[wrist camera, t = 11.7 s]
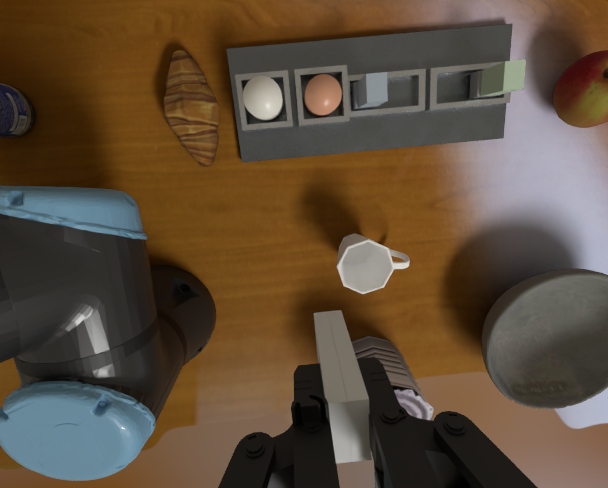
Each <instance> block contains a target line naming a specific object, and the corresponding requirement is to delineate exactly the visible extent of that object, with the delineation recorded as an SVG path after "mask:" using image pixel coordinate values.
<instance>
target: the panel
mask: <svg viewBox="0 0 608 488" xmlns="http://www.w3.org/2000/svg"><path fill="white" fill-rule="evenodd" d="M511 36H512V24H503V25H492V26H480V27H469V28H458V29H446V30H435V31H424V32H412V33H401V34H390V35H378V36H367V37H356V38H344V39H333V40H321V41H310V42H299V43H287V44H276V45H265V46H253V47H242V48H231V49H227V57H228V64H229V71H230V78H231V86H232V93H233V100H234V108H235V115H236V122H237V129H238V137H239V144H240V151H241V158H242V162H251V161H262V160H273V159H284V158H294V157H305V156H316V155H327V154H338V153H348V152H359V151H370V150H381V149H392V148H402V147H413V146H424V145H435V144H446V143H457V142H467V141H478V140H489V139H500V138H503V137H504V124H505V112H506V103H509V102H510V94H511V92H508V93H504V94H502V95H498V96H494V97H484V98H473V99H469V96H470V75H471V74H472V73H475V72H477V71H482V70H485V69H487V68H490V67H492V66H495V65H497V64H500V63H502V62H505V61H510V48H511ZM381 72H387V94H388V101H387V102H384V103H382V104H381V106H378V107H374V108H363V109H353V104H352V84H353V83H354V82H358V81H359V80H360V79H361V78H362V77H363V76H364V75H365V74H370V73H381ZM321 74H327V75H330V76H332V77H334V78H335V79H336V80H337V81H338V83H339V85H340V87H341V91H342V97H341V101H340V103H339V105H338V107H337V108H336V109H335V110H334V111H332V112H331V113H330V114H329V115H327V116H325V117H314V116H312V115H311V114H309V113H308V111H307V110H306V108H305V106H304V94H305V90H306V87H307V85H308V83H309V81H310V80H311V79H312V78H314V77H315V76H317V75H321ZM257 76H266V77H269V78H271V79H273V80H274V81H275V82H276V83H277V84H278V86H279V87H280V90H281V93H282V99H283V107H282V110H281V112H280V114H279V115H278V116H277V117H276V118H275V119H273V120H270V121H262V120H259V119H257V118H256V117H255V116H253V115H252V114H251V113H250V112H249V111H248V110H247V108H246V107H245V104H244V101H243V91H244V88H245V86H246V84H247V83H248V82H249V81H250V80H251V79H252V78H254V77H257Z"/></svg>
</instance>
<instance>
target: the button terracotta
mask: <svg viewBox="0 0 608 488" xmlns="http://www.w3.org/2000/svg"><path fill="white" fill-rule="evenodd" d="M341 97H342V91H341V87H340V85H339V83H338V81H337V80H336V79H335V78H334V77H332V76H330V75H327V74H321V75H317V76H315V77H314V78H312V79H311V80H310V81H309V83H308V85H307V87H306V90H305V94H304V106H305V108H306V110H307V111H308V113H309V114H311V115H312V116H314V117H325V116H327V115H329V114H330V113H331V112H332V111H334V110H335V109H336V108H337V107H338V105H339V103H340V101H341Z"/></svg>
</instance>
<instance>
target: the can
mask: <svg viewBox="0 0 608 488" xmlns="http://www.w3.org/2000/svg"><path fill="white" fill-rule="evenodd" d="M351 343H352V346H353V349H354V353H355V356H356V359H360V358H370V357H376V358H377V359H378V360H379V361H380V362H381V363H382V364H383V366H384V368H385V371H386V373H387V375H388V378H389V380H390V382H391V385H392V387H393V390H394V392H395V394H396V397H397V399H398V401H399V404H400V405H401V406H402V407H403V408H405V409H406V411H407V412H408V413H409V414H410V415H412V416H414V417H416V418H420V419H425V420H431V418H432V413H433V408H432V407H431V406H430V405H429V404H428V403H427V402H426V400H425V398H424V396H423V394H422V392H421V390H420V388H419V387H418V385H417V383H416V381H415V379H414V377H413V375H412V373H411V371H410V370H409V368H408V366H407V364H406V362H405V360H404V358H403V356H402V355H401V353H400V352H399V351H398V350H397V349H396V348H395V346H394V345H393V344H392V343H391V342H390V341H389V340H385V339H380V338H376V337H371V336H367V337H364V338H361V339H359V340H356V341H353V342H351ZM371 455H372V452H371Z"/></svg>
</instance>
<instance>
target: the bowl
mask: <svg viewBox="0 0 608 488" xmlns="http://www.w3.org/2000/svg"><path fill="white" fill-rule="evenodd" d="M482 354H483V360H484V363H485V366H486V369H487V371H488V374H489V376H490V378H491V379H492V381H493V382H494V384H495V386H496V387H497V388H498V389H499V391H500V392H501V393H502V394H503V395H505V396H506V397H507V398H508V399H510V400H513V401H514V402H516V403H518V404H521V405H524V406H527V407H532V408H540V409H554V408H564V407H566V406H572V405H575V404H578V403H581V402H583V401H586V400H587V399H590V398H592V397H594V396H595V395H597V394H599V393H601V392H602V391H603V390H605V389H606V388H607V387H608V275H606V274H603V273H599V272H595V271H591V270H586V269H561V270H554V271H549V272H546V273H542V274H539V275H536V276H533V277H530V278H527V279H525V280H523V281H521V282H519V283H517V284H516V285H514V286H513V287H511V288H510V289H508V290H507V291H506V292H505V293H503V294H502V295H501V296H500V297H499V298H498V299H497V300H496V302H495V303H494V304H493V306H492V307H491V309H490V311H489V312H488V314H487V316H486V319H485V322H484V326H483V331H482Z"/></svg>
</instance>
